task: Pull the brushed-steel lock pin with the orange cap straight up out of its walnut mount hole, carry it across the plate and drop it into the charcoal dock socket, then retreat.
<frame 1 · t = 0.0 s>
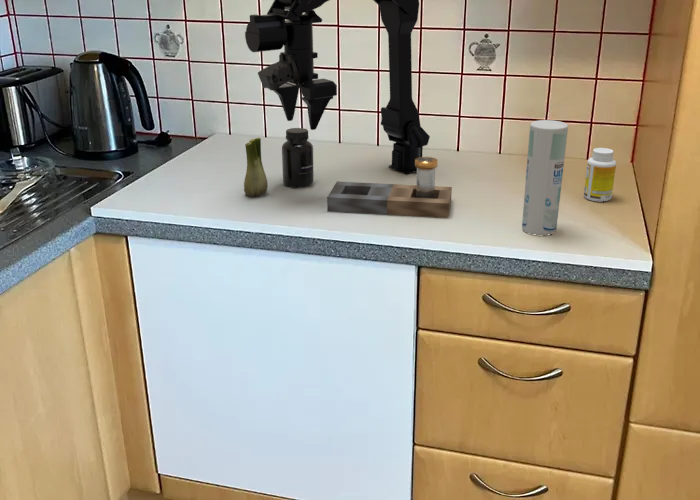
hand: (301, 125, 155), 15 cm above the countertop, fingers open, 9 cm apart
supplement bottle 2: (597, 199, 157), on the countertop
pin dock plate: (390, 205, 153), on the countertop
lock pin: (424, 207, 152), resting in pin dock plate
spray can: (538, 230, 141), on the countertop
supplement bottle: (298, 184, 167), on the countertop
fennel bulb: (256, 195, 161), on the countertop
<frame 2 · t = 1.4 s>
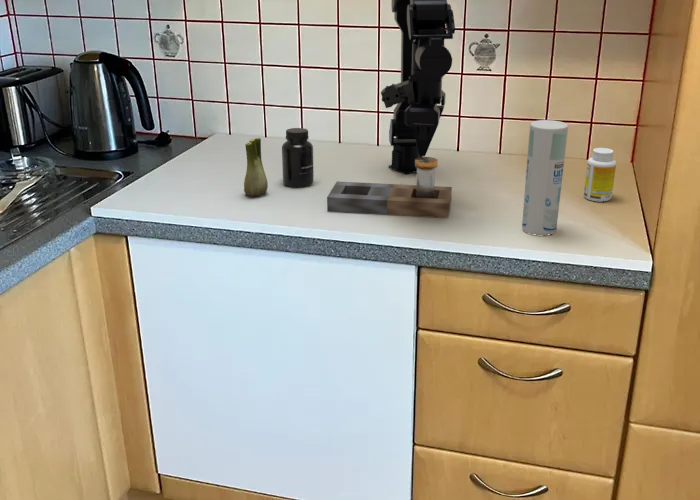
hand: (424, 149, 147), 12 cm above the countertop, fingers open, 9 cm apart
nothing on the countertop moved.
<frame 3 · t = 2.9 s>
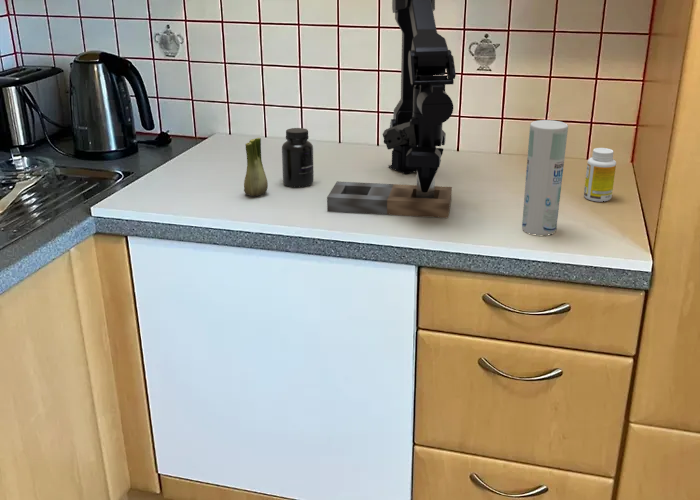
hand: (425, 188, 150), 4 cm above the countertop, fingers closed on lock pin, 4 cm apart
lock pin: (424, 207, 152), resting in pin dock plate, touching gripper
everything else where it was.
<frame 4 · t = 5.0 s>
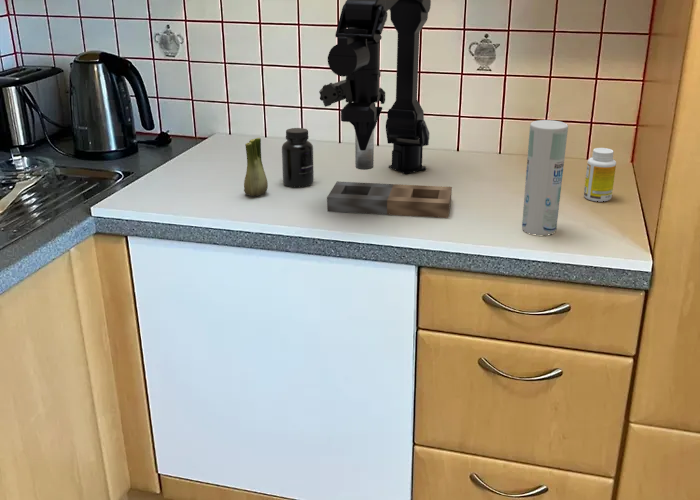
hand: (364, 147, 149), 12 cm above the countertop, fingers closed on lock pin, 4 cm apart
lock pin: (364, 167, 151), point 8 cm above the countertop, touching gripper
everything else where it was.
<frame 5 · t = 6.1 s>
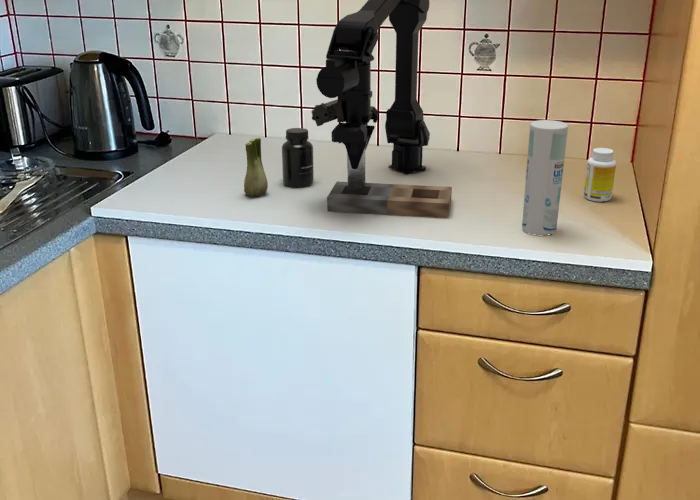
hand: (356, 165, 151), 8 cm above the countertop, fingers closed on lock pin, 4 cm apart
lock pin: (356, 184, 153), point 4 cm above the countertop, touching gripper
everything else where it was.
when the fingers open (5 cm above the countertop, at t = 7.1 s): lock pin stays where it is, resting in pin dock plate.
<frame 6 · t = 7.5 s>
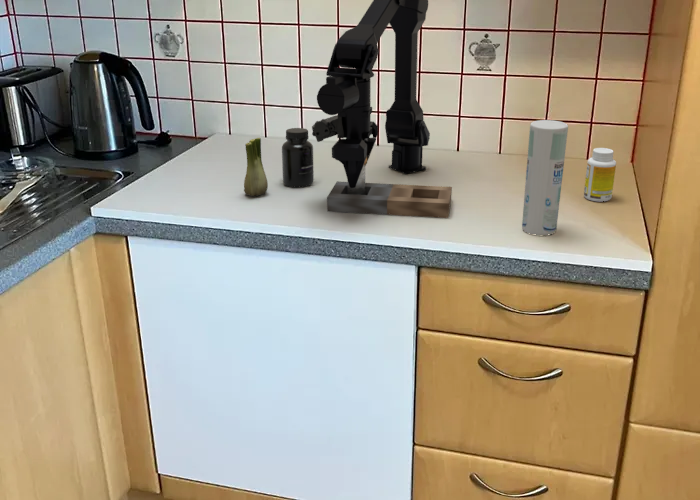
hand: (356, 180, 152), 5 cm above the countertop, fingers open, 8 cm apart
lock pin: (356, 204, 154), resting in pin dock plate
everything else where it was.
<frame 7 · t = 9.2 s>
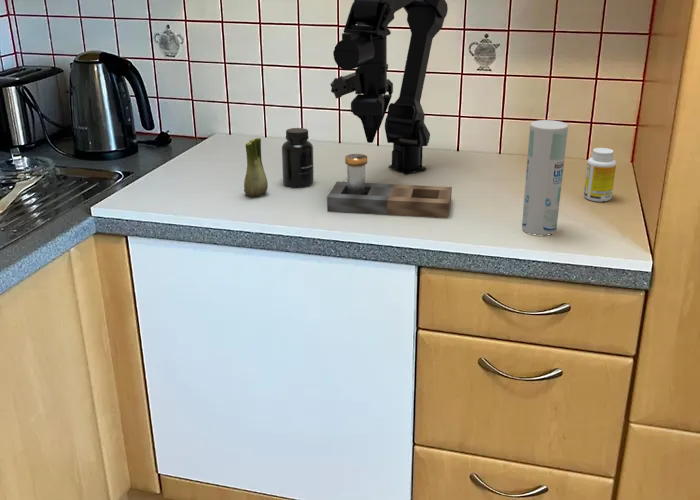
hand: (373, 136, 159), 12 cm above the countertop, fingers open, 9 cm apart
nothing on the countertop moved.
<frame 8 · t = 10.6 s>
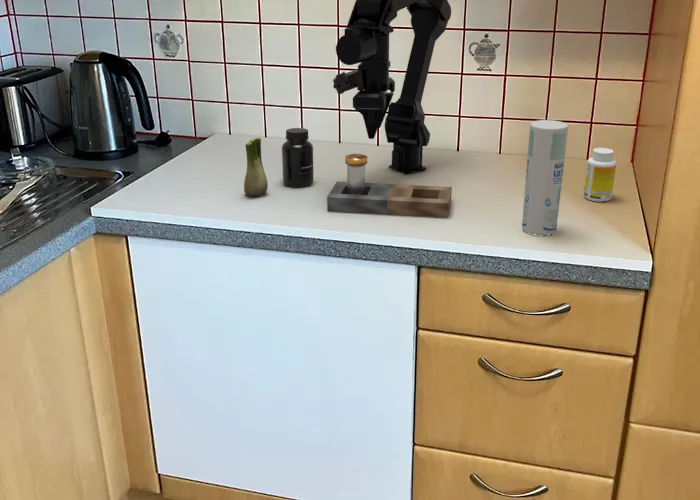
hand: (374, 133, 159), 12 cm above the countertop, fingers open, 9 cm apart
nothing on the countertop moved.
at the end: lock pin 0.1 cm from the target spot on the pin dock plate, point 0.0 cm above the pin dock plate's base; lock pin tilted 0°; the gripper is holding nothing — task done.
